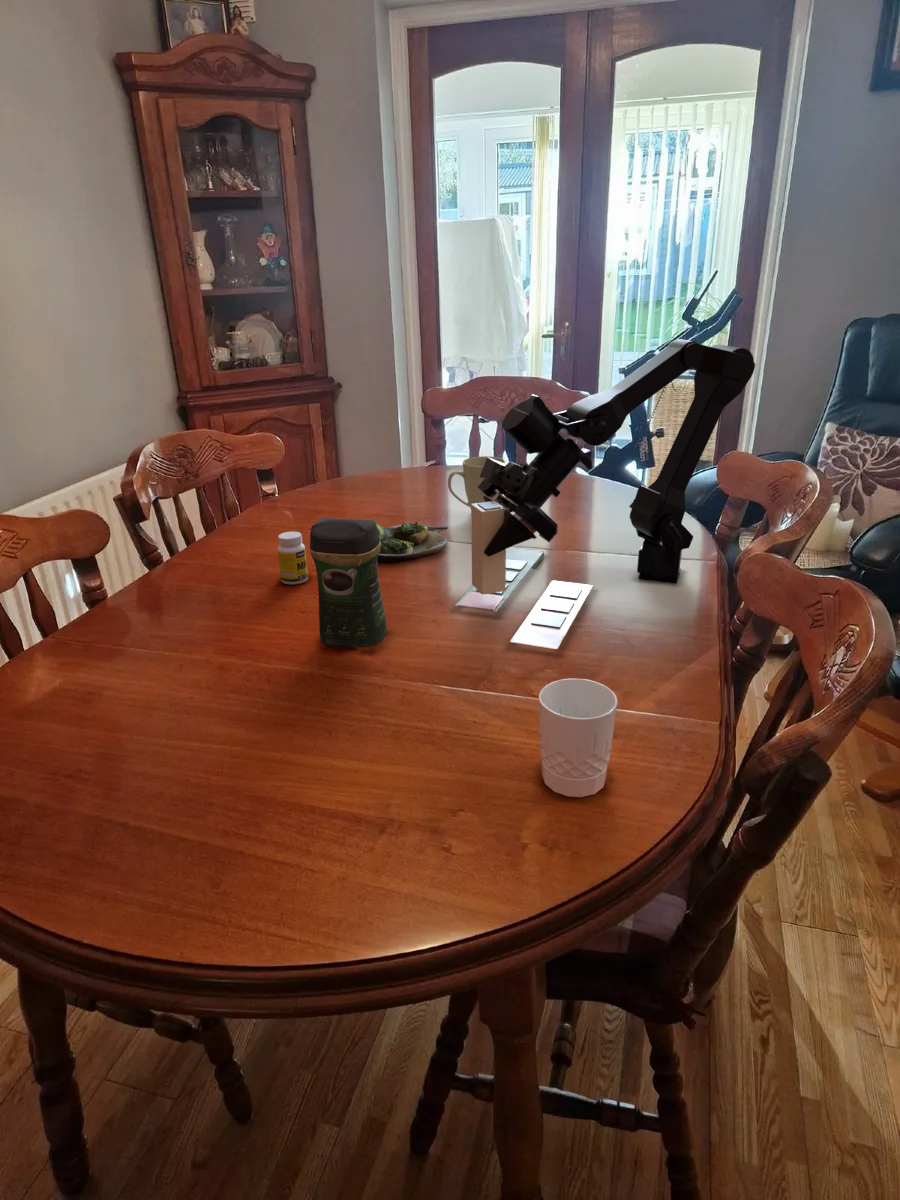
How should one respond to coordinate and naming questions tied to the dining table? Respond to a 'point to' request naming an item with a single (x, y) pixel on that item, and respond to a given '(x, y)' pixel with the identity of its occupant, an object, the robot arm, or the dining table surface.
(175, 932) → the dining table surface
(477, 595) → the strip
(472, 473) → the mug
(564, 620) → the strip
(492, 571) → the cream tall square block
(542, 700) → the white cup
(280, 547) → the supplement bottle
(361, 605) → the coffee jar
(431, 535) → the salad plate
